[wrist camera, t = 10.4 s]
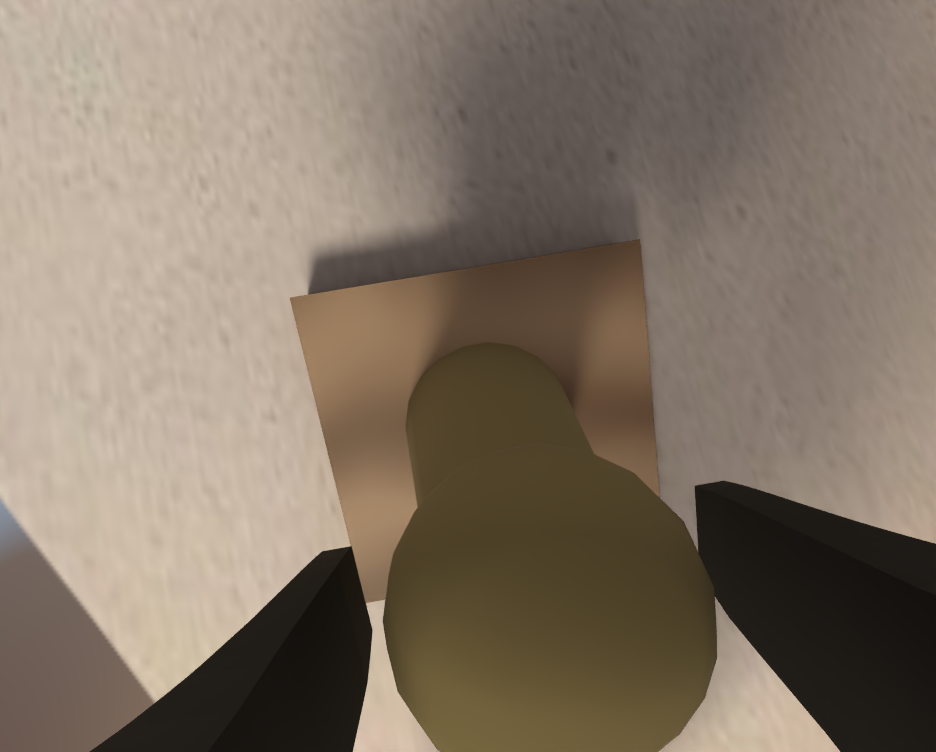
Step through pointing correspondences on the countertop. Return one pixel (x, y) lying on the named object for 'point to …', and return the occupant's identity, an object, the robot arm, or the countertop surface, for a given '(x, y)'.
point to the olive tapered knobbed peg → (538, 575)
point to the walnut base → (463, 324)
